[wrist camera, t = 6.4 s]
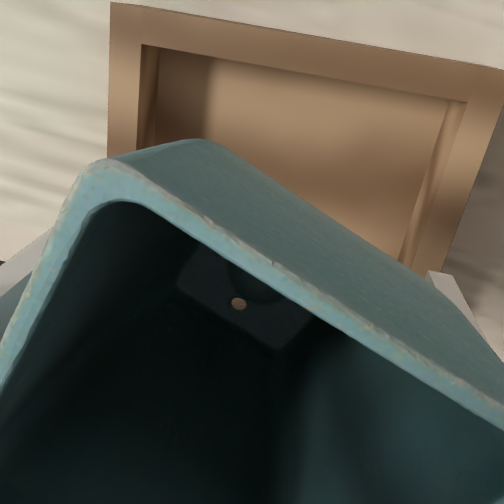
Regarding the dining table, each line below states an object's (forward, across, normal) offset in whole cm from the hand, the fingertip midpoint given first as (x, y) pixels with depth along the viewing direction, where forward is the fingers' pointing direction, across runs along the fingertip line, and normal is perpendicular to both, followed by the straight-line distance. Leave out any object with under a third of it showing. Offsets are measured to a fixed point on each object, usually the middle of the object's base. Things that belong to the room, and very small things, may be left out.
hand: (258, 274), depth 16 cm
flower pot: (+1, 0, 0) cm, 1 cm away
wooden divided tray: (+13, 0, -6) cm, 15 cm away
